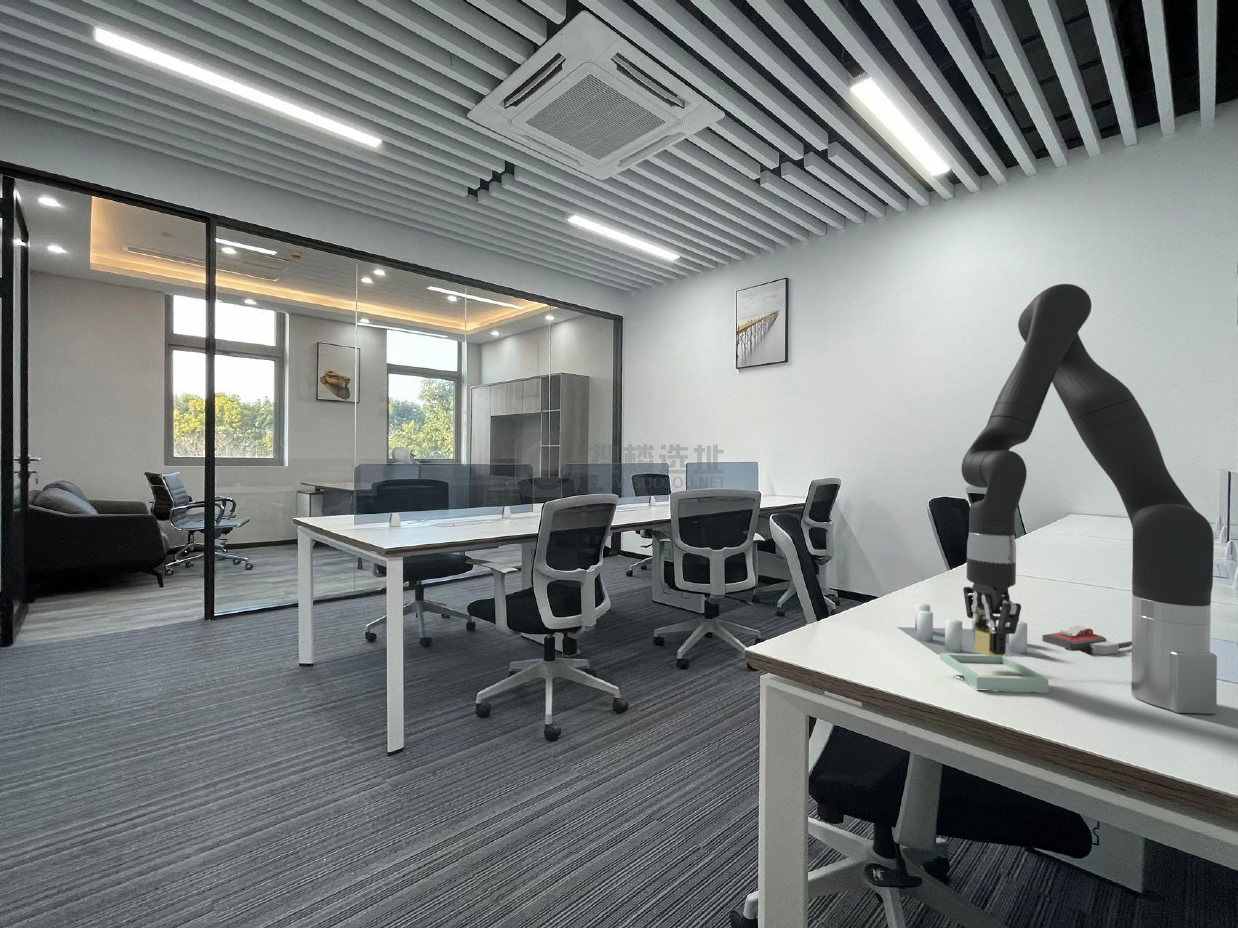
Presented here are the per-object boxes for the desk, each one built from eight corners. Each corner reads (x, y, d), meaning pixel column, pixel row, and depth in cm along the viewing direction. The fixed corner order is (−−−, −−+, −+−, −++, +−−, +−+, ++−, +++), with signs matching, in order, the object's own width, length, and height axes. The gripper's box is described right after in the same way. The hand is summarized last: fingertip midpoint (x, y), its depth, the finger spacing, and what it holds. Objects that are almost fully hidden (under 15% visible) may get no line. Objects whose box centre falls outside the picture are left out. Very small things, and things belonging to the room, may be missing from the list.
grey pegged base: (1050, 663, 108) (1050, 627, 108) (937, 659, 109) (937, 624, 109) (993, 634, 126) (993, 603, 126) (896, 632, 127) (897, 601, 127)
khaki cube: (1011, 656, 98) (1011, 634, 98) (981, 655, 98) (982, 633, 98) (996, 648, 102) (996, 627, 102) (968, 647, 103) (968, 626, 102)
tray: (1048, 693, 93) (1048, 679, 93) (976, 690, 94) (976, 677, 94) (1003, 667, 105) (1003, 654, 105) (940, 665, 106) (940, 653, 106)
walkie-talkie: (1081, 661, 110) (1141, 650, 116) (1081, 640, 110) (1141, 630, 116) (1035, 647, 118) (1094, 638, 125) (1035, 627, 118) (1094, 619, 125)
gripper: (1039, 565, 93) (1037, 664, 93) (988, 551, 107) (987, 637, 107) (993, 564, 93) (991, 662, 93) (949, 550, 107) (947, 636, 108)
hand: (989, 648), depth 100 cm, fingers closed on khaki cube, 4 cm apart
